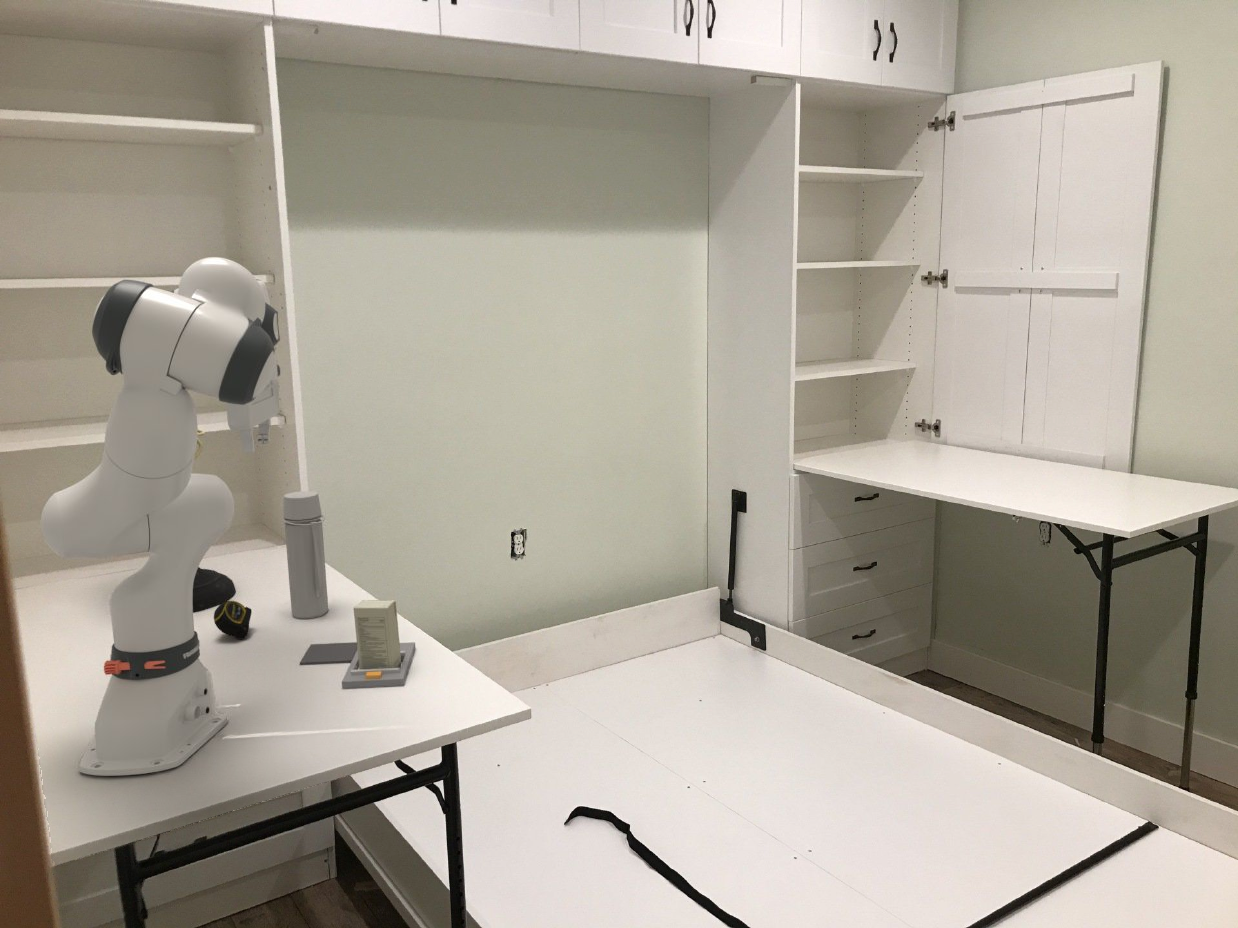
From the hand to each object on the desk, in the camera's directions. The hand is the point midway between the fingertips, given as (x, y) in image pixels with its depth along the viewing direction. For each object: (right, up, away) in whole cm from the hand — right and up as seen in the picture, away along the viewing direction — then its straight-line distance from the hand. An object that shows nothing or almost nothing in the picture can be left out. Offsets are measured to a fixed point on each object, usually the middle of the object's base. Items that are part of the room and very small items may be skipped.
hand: (257, 447), depth 177 cm
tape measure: (-8, -36, +11) cm, 38 cm away
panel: (+24, -38, -6) cm, 45 cm away
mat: (+13, -37, +1) cm, 40 cm away
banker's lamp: (-29, -32, +33) cm, 54 cm away
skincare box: (+24, -39, -7) cm, 46 cm away
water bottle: (+3, -34, +22) cm, 40 cm away
